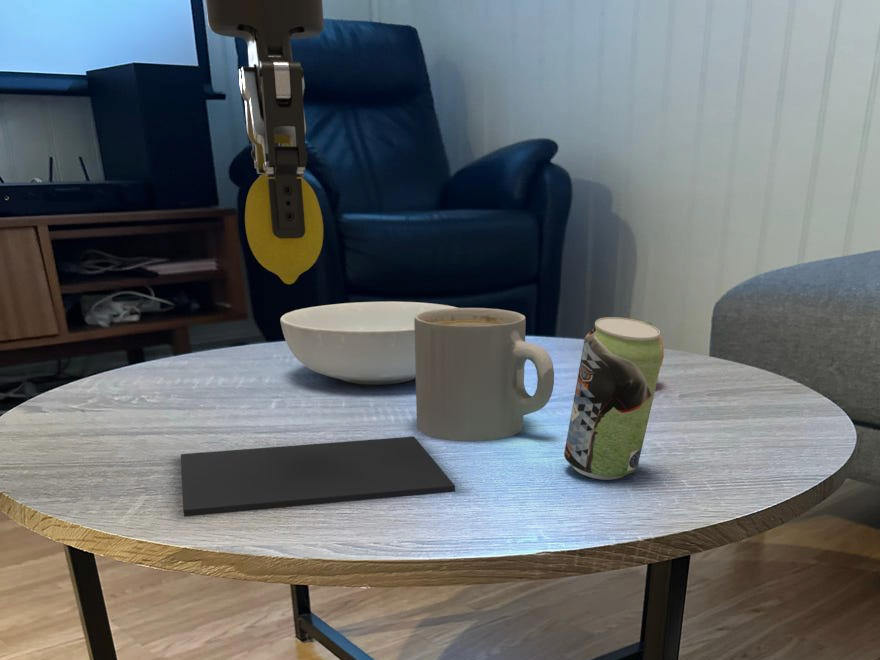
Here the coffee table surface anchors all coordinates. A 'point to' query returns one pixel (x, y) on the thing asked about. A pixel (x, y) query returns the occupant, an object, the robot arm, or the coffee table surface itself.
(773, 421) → the coffee table surface
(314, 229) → the lemon
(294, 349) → the serving bowl
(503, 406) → the coffee mug
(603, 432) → the beverage can
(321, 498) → the mat
